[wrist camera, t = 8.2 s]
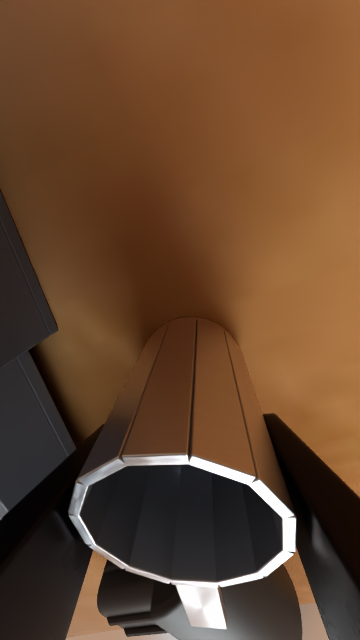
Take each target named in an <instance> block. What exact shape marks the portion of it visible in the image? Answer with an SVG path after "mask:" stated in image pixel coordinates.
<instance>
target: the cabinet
mask: <svg viewBox="0 0 360 640" xmlns="http://www.w3.org/2000/svg"><path fill="white" fill-rule="evenodd" d="M56 331H58V328H57V325H56V323H55V321H54V318H53V316H52V313H51V311H50V309H49V306H48V304H47V301H46V299H45V297H44V294H43V292H42V289H41V287H40V285H39V282H38V280H37V277H36V275H35V273H34V270H33V268H32V266H31V263H30V261H29V258H28V256H27V254H26V251H25V249H24V246H23V244H22V242H21V239H20V237H19V234H18V232H17V230H16V227H15V225H14V222H13V220H12V218H11V215H10V213H9V210H8V208H7V206H6V203H5V201H4V198H3V196H2V194H1V191H0V369H1V368H2V367H4V366H5V365H7V364H8V363H10V362H11V361H13V360H14V359H16V358H17V357H19V356H20V355H22V354H23V353H25V352H26V351H28V350H29V349H31V348H32V347H34V346H35V345H37V344H38V343H40V342H41V341H43V340H44V339H46V338H47V337H49V336H50V335H52V334H53V333H55V332H56Z"/></svg>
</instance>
